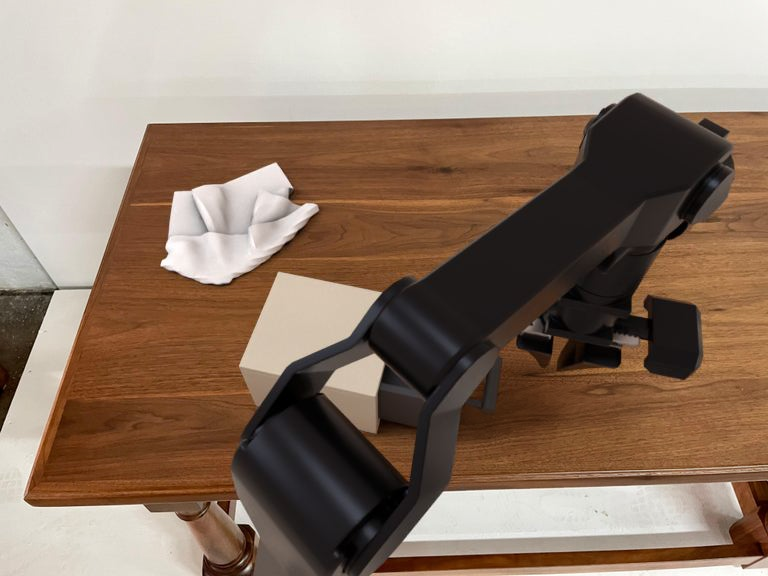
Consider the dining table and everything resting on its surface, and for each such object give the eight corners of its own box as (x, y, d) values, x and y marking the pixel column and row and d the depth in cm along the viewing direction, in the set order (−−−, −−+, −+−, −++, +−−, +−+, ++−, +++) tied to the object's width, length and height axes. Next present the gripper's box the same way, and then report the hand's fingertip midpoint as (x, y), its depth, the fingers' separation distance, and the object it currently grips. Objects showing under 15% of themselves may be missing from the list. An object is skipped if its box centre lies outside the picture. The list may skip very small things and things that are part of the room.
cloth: (145, 284, 75) (138, 272, 73) (185, 160, 87) (180, 147, 85) (308, 289, 74) (306, 278, 72) (325, 164, 87) (323, 151, 85)
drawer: (497, 362, 68) (510, 327, 61) (484, 450, 62) (496, 421, 56) (355, 332, 70) (352, 295, 63) (329, 414, 64) (323, 383, 58)
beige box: (400, 341, 70) (402, 296, 62) (376, 434, 64) (375, 396, 56) (289, 318, 72) (278, 271, 64) (255, 406, 66) (238, 366, 58)
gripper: (731, 204, 45) (654, 313, 58) (486, 162, 48) (464, 276, 61) (745, 327, 39) (656, 418, 52) (463, 272, 42) (444, 372, 55)
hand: (550, 364), depth 55 cm, fingers closed
